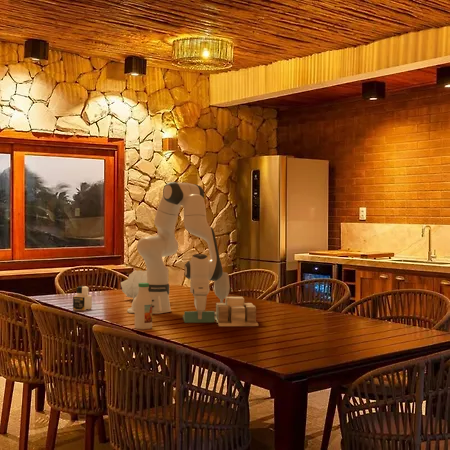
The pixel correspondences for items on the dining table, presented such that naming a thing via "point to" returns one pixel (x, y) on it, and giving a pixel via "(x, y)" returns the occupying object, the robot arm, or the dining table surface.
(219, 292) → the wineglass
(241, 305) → the stacked beige blocks
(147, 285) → the milk bottle
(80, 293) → the medicine bottle
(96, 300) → the dining table surface
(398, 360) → the dining table surface
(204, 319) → the green flat slab
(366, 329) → the dining table surface
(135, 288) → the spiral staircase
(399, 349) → the dining table surface
